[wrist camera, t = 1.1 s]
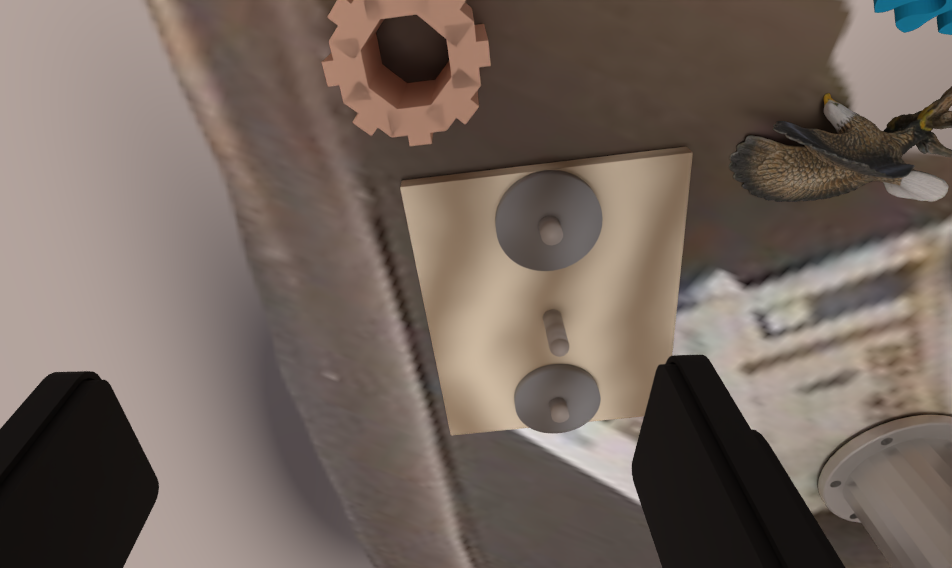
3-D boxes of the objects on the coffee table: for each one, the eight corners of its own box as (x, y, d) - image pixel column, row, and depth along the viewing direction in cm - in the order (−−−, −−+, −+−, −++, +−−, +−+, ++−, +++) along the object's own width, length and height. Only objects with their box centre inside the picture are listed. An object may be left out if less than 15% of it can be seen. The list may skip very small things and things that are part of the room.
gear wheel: (476, -48, 25) (480, -44, 21) (492, 106, 29) (497, 135, 25) (327, -28, 25) (300, -20, 21) (361, 122, 29) (345, 154, 25)
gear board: (686, 146, 30) (719, 177, 26) (661, 404, 41) (682, 453, 37) (401, 180, 31) (393, 215, 27) (451, 425, 42) (450, 475, 38)
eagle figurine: (924, 15, 26) (750, 86, 26) (1043, 121, 23) (845, 201, 23) (850, 122, 33) (712, 178, 33) (933, 215, 30) (781, 277, 30)
